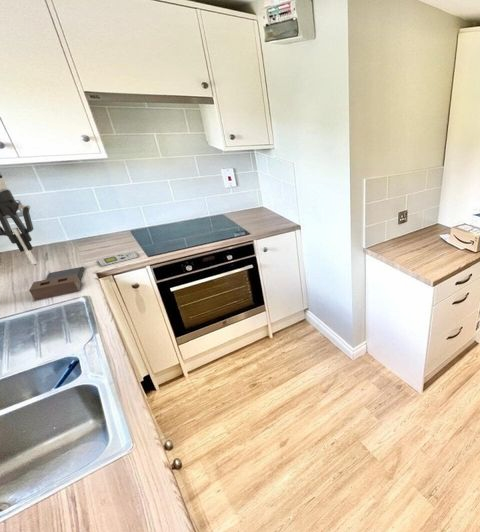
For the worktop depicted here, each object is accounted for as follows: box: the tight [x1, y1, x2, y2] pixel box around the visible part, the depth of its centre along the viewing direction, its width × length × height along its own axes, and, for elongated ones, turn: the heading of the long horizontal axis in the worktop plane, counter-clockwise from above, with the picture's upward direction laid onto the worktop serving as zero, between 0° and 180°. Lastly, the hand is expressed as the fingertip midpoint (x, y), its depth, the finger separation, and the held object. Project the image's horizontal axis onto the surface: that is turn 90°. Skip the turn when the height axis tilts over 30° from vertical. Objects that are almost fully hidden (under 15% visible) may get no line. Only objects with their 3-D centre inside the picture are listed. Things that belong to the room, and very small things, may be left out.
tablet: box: [45, 266, 85, 281], centre depth 147 cm, size 12×16×1 cm
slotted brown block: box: [28, 274, 82, 301], centre depth 136 cm, size 8×13×5 cm, turn 126°
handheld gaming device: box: [97, 251, 139, 267], centre depth 166 cm, size 9×1×15 cm
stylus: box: [11, 227, 38, 267], centre depth 127 cm, size 2×2×16 cm
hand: (26, 249), depth 127 cm, fingers closed on stylus, 1 cm apart
